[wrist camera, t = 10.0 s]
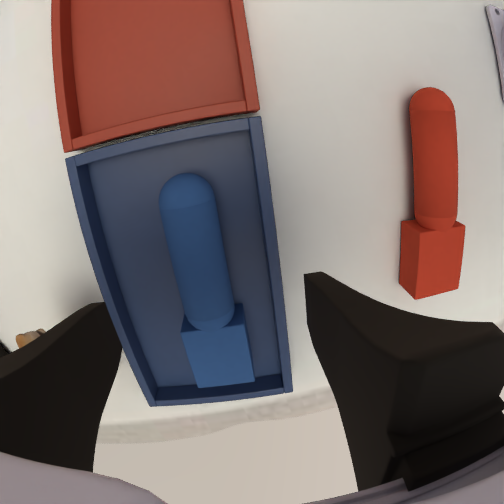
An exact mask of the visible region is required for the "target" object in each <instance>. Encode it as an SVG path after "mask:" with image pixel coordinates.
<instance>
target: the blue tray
mask: <svg viewBox="0 0 504 504" xmlns="http://www.w3.org/2000/svg"><path fill="white" fill-rule="evenodd" d="M65 161H66V166H67V171H68V176H69V180H70V185H71V189H72V194H73V198H74V202H75V206H76V210H77V214H78V218H79V222H80V226H81V229H82V233H83V237H84V240H85V243H86V247H87V250H88V254H89V257H90V260H91V263H92V266H93V270H94V273H95V276H96V279H97V282H98V285H99V287H100V290H101V293H102V296H103V299H104V302H105V303H106V306H107V309H108V311H109V314H110V317H111V319H112V322H113V324H114V327H115V330H116V332H117V335H118V337H119V339H120V342H121V344H122V348H123V350H124V352H125V355H126V357H127V359H128V361H129V364H130V366H131V368H132V370H133V373H134V375H135V377H136V379H137V381H138V383H139V385H140V388H141V390H142V392H143V394H144V396H145V398H146V400H147V402H148V404H149V406H150V407H153V406H173V405H189V404H202V403H213V402H223V401H233V400H241V399H249V398H256V397H263V396H270V395H277V394H283V393H284V392H285V393H289V392H293V385H292V374H291V363H290V353H289V343H288V333H287V323H286V314H285V304H284V295H283V286H282V277H281V268H280V260H279V251H278V243H277V234H276V226H275V218H274V210H273V202H272V194H271V186H270V179H269V171H268V164H267V156H266V149H265V142H264V135H263V128H262V121H261V116H256V117H249V118H241V119H234V120H228V121H221V122H215V123H209V124H204V125H198V126H193V127H187V128H182V129H177V130H172V131H168V132H163V133H158V134H154V135H149V136H145V137H141V138H137V139H133V140H129V141H125V142H121V143H117V144H113V145H110V146H106V147H102V148H99V149H95V150H92V151H88V152H85V153H82V154H78V155H75V156H72V157H69V158H66V159H65ZM182 173H193V174H196V175H199V176H201V177H203V178H204V179H205V180H206V181H207V182H208V183H209V184H210V185H211V187H212V189H213V192H214V196H215V200H216V206H217V212H218V218H219V223H220V229H221V235H222V240H223V246H224V251H225V257H226V262H227V267H228V273H229V278H230V284H231V289H232V294H233V299H234V304H239V303H242V304H243V307H244V313H245V318H246V324H247V329H248V335H249V340H250V345H251V351H252V356H253V365H254V375H255V381H254V382H248V383H240V384H232V385H224V386H214V387H204V388H198V386H197V383H196V381H195V378H194V375H193V372H192V369H191V366H190V363H189V360H188V357H187V354H186V351H185V347H184V344H183V341H182V338H181V335H180V331H181V326H182V322H183V317H184V313H185V311H184V308H183V304H182V300H181V297H180V293H179V289H178V285H177V282H176V278H175V274H174V270H173V266H172V262H171V258H170V254H169V249H168V245H167V241H166V237H165V232H164V228H163V223H162V219H161V214H160V210H159V195H160V191H161V189H162V187H163V186H164V184H165V183H166V182H167V181H168V180H169V179H170V178H172V177H174V176H176V175H178V174H182Z"/></svg>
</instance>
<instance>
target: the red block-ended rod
mask: <svg viewBox="0 0 504 504" xmlns="http://www.w3.org/2000/svg"><path fill="white" fill-rule="evenodd" d="M409 113H410V123H411V135H412V149H413V169H414V214H415V218H416V219H414V220H407V221H402V222H401V257H400V276H399V284H400V285H401V286H402V287H403V288H404V289H405V290H406V291H407V292H408V293H409V294H410V295H411V296H412V297H413V298H414V299H415V300H417V299H421V298H425V297H429V296H433V295H436V294H440V293H444V292H448V291H451V290H455V289H458V286H459V279H460V272H461V265H462V256H463V247H464V236H465V225H463V224H461V223H459V222H457V221H456V218H457V207H458V150H457V131H456V117H455V110H454V106H453V103H452V101H451V100H450V98H449V97H448V96H447V95H446V94H445V93H444V92H443V91H441V90H439V89H436V88H432V87H427V88H423V89H420V90H418V91H417V92H416V93H415V94H414V95H413V97H412V98H411V101H410V105H409Z"/></svg>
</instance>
